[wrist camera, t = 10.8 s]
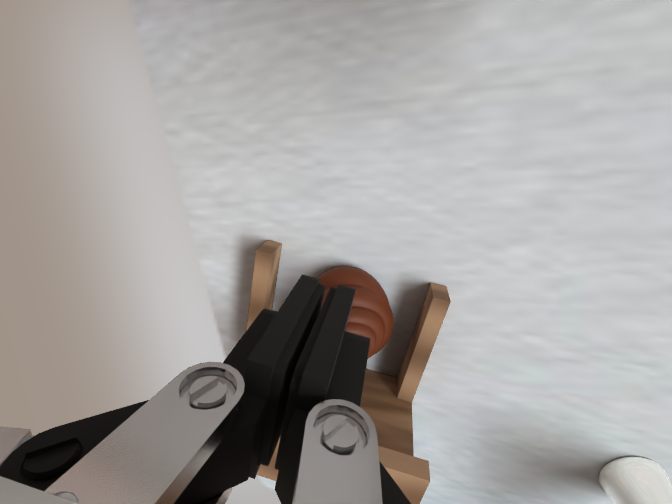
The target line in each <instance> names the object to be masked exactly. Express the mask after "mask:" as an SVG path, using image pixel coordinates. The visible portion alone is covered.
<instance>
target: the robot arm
mask: <svg viewBox="0 0 672 504" xmlns="http://www.w3.org/2000/svg"><path fill="white" fill-rule="evenodd" d="M324 292H325V285H321V284H320V279H317V278H313V277H310V276H306V275H302V276H301V277H300V279H299V280H298V282H297V283H296V285H295V286H294V288H293V290H292V291H291V293H290V294H289V296H288V297H287V299H286V300H285V302H284V303H283V305H282V306H281V308H280V309H279V311H278V312H277V311H273V310H270V309H266V308H265V309H263V310H262V311H261V312H260V313H259V315H258V316H257V317H256V319H255V320H254V321H253V323H252V324H251V326H250V327H249V328H248V330H247V331H246V332H245V334H244V335H243V336H242V338H241V339H240V340H239V342H238V343H237V344H236V346H235V347H234V348H233V350H232V351H231V352H230V354H229V355H228V357H227V358H226V359H225V361H224V362H223V363H220V362H206V363H200V364H197V365H194V366H192V367H189V368H187V369H186V370H184V371H183V372H181V373H180V374H179V375H178V376H176V377H175V378H174V379H173V380H172V381H171V382H169V383H168V384H167V385H166V386H165V387H164V388H163V389H162V390H160V391H159V392H158V393H157V394H156V395H155V396H153V397H152V398H151V399H150V400H147V401H144V402H140V403H137V404H134V405H130V406H127V407H123V408H120V409H116V410H113V411H109V412H106V413H102V414H99V415H96V416H92V417H89V418H85V419H82V420H78V421H75V422H71V423H68V424H65V425H61V426H58V427H55V428H52V429H49V430H47V431H44V432H42V433H39V434H37V435H36V436H34V435H31V431H30V429H21V428H10V427H0V504H225V503H226V501H227V499H228V497H229V495H230V493H231V491H232V487H234V486H236V485H238V484H240V483H242V482H244V481H246V480H248V477H251V478H254V479H255V477H256V474H257V472H258V470H259V467H260V465H261V464H262V465H265V466H269V464H270V461H271V459H272V456H273V454H274V451H275V449H276V446H277V443H278V441H279V438H280V442H279V447H278V452H277V457H276V462H275V469H277V470H279V471H278V476H277V481H276V486H275V491H276V493H277V495H278V497H279V499H280V501H281V504H411V503H410V501H409V500H408V499H407V497H406V496H405V495H404V493H403V492H402V490H401V489H400V488H399V486H398V485H397V484H396V482H395V481H394V480H393V478H392V477H391V476H390V474H389V473H388V471H387V470H386V469H385V467H384V466H383V465H382V463H381V462H380V461H379V452H378V439H377V432H376V428H375V424H374V423H373V421H372V419H371V418H370V416H369V415H368V414H367V413H366V412H365V411H364V410H363V409H362V408H361V407H360V403H361V397H362V390H363V384H364V378H365V371H366V365H367V358H368V352H369V346H370V338H368V337H365V336H361V335H358V334H354V333H351V332H347V331H346V327H347V323H348V319H349V315H350V311H351V307H352V303H353V299H354V295H355V292H356V289H354V288H350V287H347V286H343V285H338V287H337V289H336V288H332V287H330V290H329V292H328V294H327V296H326V299H325V301H324V303H323V305H322V301H323V297H324ZM321 306H322V308H321Z"/></svg>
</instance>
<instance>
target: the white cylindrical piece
mask: <svg viewBox="0 0 672 504" xmlns="http://www.w3.org/2000/svg"><path fill="white" fill-rule="evenodd" d="M599 481H600V484H601V486H602V488H603V489H604V490H605V492H606V493H607V494H608V496H609V497H610V498H611V500H612V501H613V502H614V503H615V504H672V483H671V481H670V479H669V478H668V476H667V474H666V472H665V471H664V469H663V468H662V467H661V466H660V465H659V464H657V463H656V462H654V461H652V460H650V459H646V458H642V457H623V458H619V459H616V460H613V461H611V462H609V463H608V464H606V465H605V466H604V467H603V468H602V470H601V472H600V474H599Z"/></svg>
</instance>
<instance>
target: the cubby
mask: <svg viewBox="0 0 672 504" xmlns="http://www.w3.org/2000/svg"><path fill="white" fill-rule="evenodd" d="M281 247H282V244H281V243H278V242H274V241H270V240H267V241H266V242H265V243H264V244H263V245H261V246H260V247H259V248H258V249H257V250H256V254H255V263H254V271H253V279H252V288H251V296H250V304H249V313H248V321H247V329H246V331H247V330H248V328H249V327H250V326H251V324H252V323H253V321H254V320H255V319H256V317H257V316H258V315H259V313H260V312H261V311H262V310H263V309H265V308H266V309H270V310H272V306H273V300H274V293H275V287H276V280H277V273H278V267H279V260H280V253H281ZM449 304H450V298H449V294H448V291H447V287H446V286H442V285H439V284H435V283H430V286H429V289H428V292H427V295H426V298H425V301H424V303H423V306H422V309H421V312H420V315H419V318H418V321H417V323H416V326H415V329H414V332H413V335H412V338H411V341H410V343H409V346H408V349H407V352H406V355H405V358H404V361H403V363H402V366H401V369H400V372H399V375H398V378H396V377H392V376H389V375H385V374H382V373H378V372H375V371H372V370H368V369H366V371H365V378H364V384H363V390H362V397H361V403H360V407H361V408H362V409H363V410H364V411H365V412H366V413H367V414H368V415H369V416H370V418H371V419H372V421H373V423H374V424H375V428H376V432H377V439H378V452H379V461H380V462H381V463H382V465H383V466H384V467H385V469H386V470H387V471H388V473H389V474H390V476H391V477H392V478H393V480H394V481H395V482H396V484H397V485H398V486H399V488H400V489H401V490H402V492H403V493H404V495H405V496H406V497H407V499H408V500H409V501H410V503H411V504H420V501H421V499H422V497H423V495H424V493H425V491H426V489H427V487H428V484H429V482H430V474H429V461H426V460H423V459H420V458H417V457H413V428H412V400H413V398H414V395H415V393H416V390H417V387H418V385H419V382H420V380H421V377H422V375H423V372H424V369H425V367H426V364H427V362H428V359H429V356H430V354H431V351H432V349H433V346H434V343H435V341H436V338H437V336H438V333H439V330H440V328H441V325H442V323H443V320H444V317H445V315H446V312H447V310H448V307H449ZM279 442H280V438H279V441H278V443H277V446H276V449H275V451H274V454H273V456H272V459H271V461H270V464H269V466H265V465H262V464H261V465H260V467H259V470H258V472H257V474H256V475H259V476H262V477H265V478H268V479H272V480H275V481H277V476H278V471H279V470H277V469H275V462H276V457H277V452H278V447H279Z"/></svg>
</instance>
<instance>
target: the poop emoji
mask: <svg viewBox="0 0 672 504" xmlns="http://www.w3.org/2000/svg"><path fill="white" fill-rule="evenodd" d="M317 279H320V284H321V285H325V292H324V297H323V301H322V305H323V303H324V301H325V299H326V296H327V294H328V292H329V290H330V287H332V288H336V289H337V287H338V285H343V286H347V287H350V288H354V289H356V292H355V295H354V299H353V303H352V307H351V311H350V315H349V319H348V323H347V327H346V331H347V332H351V333H354V334H358V335H361V336H365V337H368V338H370V346H369V352H368V358H369V357H371V356H372V355H374V354H376V353H377V352H379V351H380V350H381V349H382V348H383V347H384V346H385V345H386V343H387V342H388V340H389V339H390V336H391V334H392V331H393V324H394V320H393V313H392V310H391V308H390V306H389V302H388V299H387V296H386V294H385V292H384V290H383V288H382V287H381V285H380V284H379V283H378V282H377V281H376V279H375V278H373V277H372V276H371V275H370V274H368V273H367V272H365V271H363V270H361V269H358V268H355V267H350V266H340V267H335V268H332V269H329V270H327V271H325V272H324V273H322V274H321V275H320V276H319V277H318V278H317ZM321 308H322V306H321ZM368 358H367V359H368Z"/></svg>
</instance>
